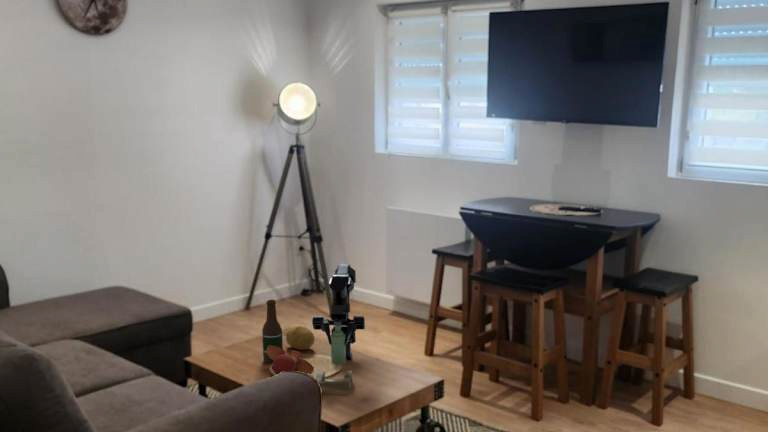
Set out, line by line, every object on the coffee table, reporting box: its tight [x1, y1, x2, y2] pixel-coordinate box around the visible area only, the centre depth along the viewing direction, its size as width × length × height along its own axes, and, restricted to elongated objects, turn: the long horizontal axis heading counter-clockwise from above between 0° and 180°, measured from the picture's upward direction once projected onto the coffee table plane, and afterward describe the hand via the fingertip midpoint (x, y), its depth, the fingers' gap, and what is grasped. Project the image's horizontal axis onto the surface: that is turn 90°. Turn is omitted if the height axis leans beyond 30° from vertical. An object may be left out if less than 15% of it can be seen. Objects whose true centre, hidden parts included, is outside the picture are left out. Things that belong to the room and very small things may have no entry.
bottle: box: [330, 321, 347, 366], centre depth 254 cm, size 5×5×15 cm
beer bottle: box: [261, 299, 284, 365], centre depth 273 cm, size 8×8×24 cm
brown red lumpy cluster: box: [267, 345, 315, 375], centre depth 261 cm, size 20×9×15 cm
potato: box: [285, 325, 315, 351], centre depth 288 cm, size 10×13×9 cm
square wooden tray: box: [314, 370, 353, 396], centre depth 247 cm, size 12×12×4 cm
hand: (337, 344), depth 253 cm, fingers closed on bottle, 5 cm apart
